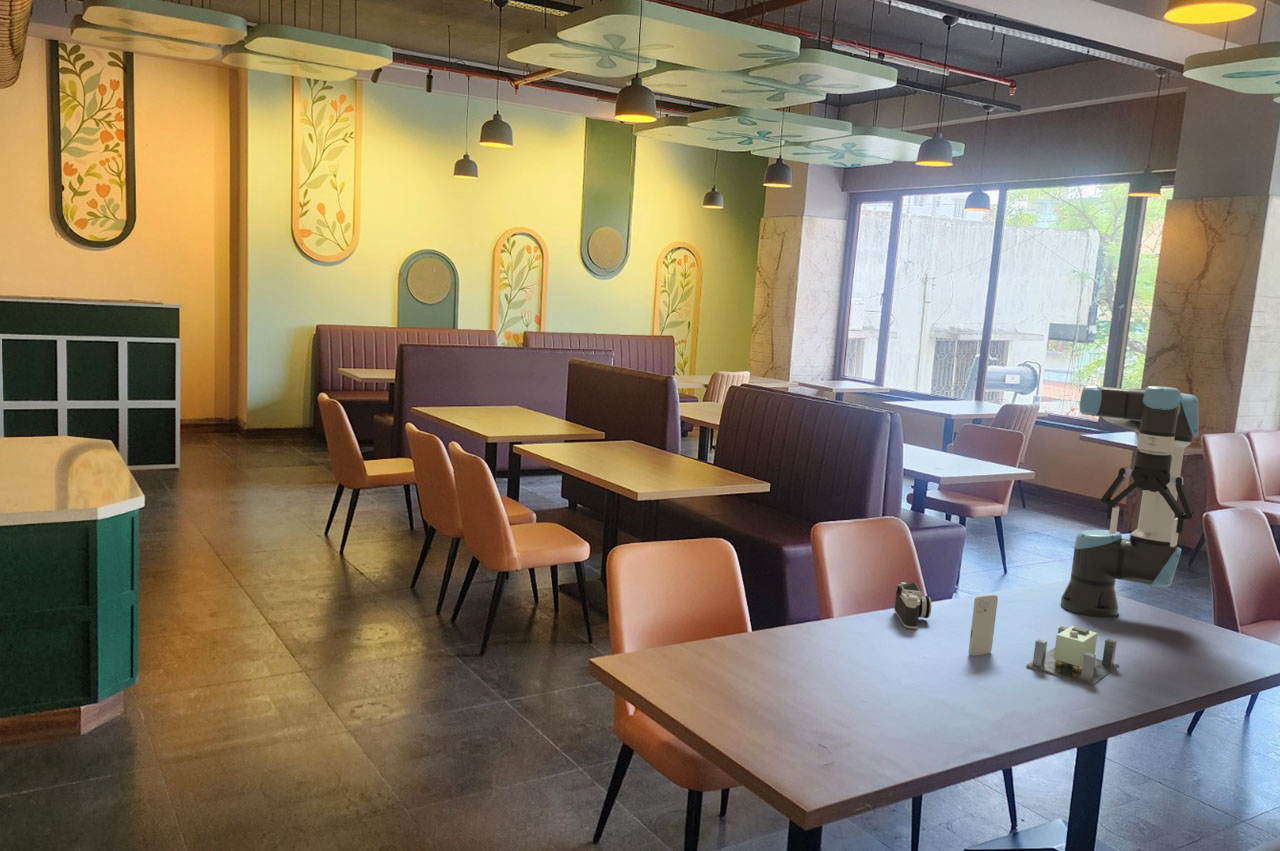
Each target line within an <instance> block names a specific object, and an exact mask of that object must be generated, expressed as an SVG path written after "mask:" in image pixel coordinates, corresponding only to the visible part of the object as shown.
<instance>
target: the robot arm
mask: <svg viewBox="0 0 1280 851" xmlns="http://www.w3.org/2000/svg"><path fill="white" fill-rule="evenodd" d="M1199 408H1200V406H1199V399H1198V397H1197V396H1196V395H1194V394H1190V393H1183V392H1181V391H1180V390H1179V388H1176V387H1171V386H1170V387H1169V386H1159V385H1158V386H1156V385H1151V386H1147V387H1146V388H1145V389H1142V388H1120V387H1119V388H1118V387H1111V386H1110V387H1109V386H1100V385H1085V386H1084V387H1083V388H1082V390H1081V394H1080V402H1079V411H1080V413H1081V414H1082V415H1084V416H1085V415H1086V416H1091V417H1100V418H1102V419H1104V421H1106V422H1108V423H1110V424H1113V425H1115V426H1118V427H1121V428H1125V429H1127V430H1128V429H1129V430H1132V431H1139V432H1138V438H1137V446H1136V448H1137V450H1138V451H1136V453H1135V460H1134V467H1133V469H1130V468H1128V467H1126V466H1124V467H1120V468H1119V470H1118V474H1117V477H1116V478H1115V479H1114V481H1112V484H1110V485H1109V487H1108V489H1107V490H1106V492H1105V493H1104V494H1103V496H1102V497H1101V498H1100V502H1101V503H1103V504H1106V505H1107V506H1108V507H1107V516H1106V518H1107V520H1110V525H1109V529H1086V530H1083V531H1079V533H1077V535H1076V537H1075V541H1074V542H1075V543H1074V546H1073V549H1074V550H1073V558H1072V565H1071V572H1070V579H1069V582H1068V583H1067V586H1066V588H1065V589H1064V592H1063V594H1062V595H1061V599H1060V606H1061V607H1062V608H1063V609H1065V610H1067V611H1069V612H1071V613H1074V614H1078V615H1083V616H1085V617H1092V618H1114V617H1116V616H1118V614H1119V603H1118V598H1117V594H1116V589H1115V585H1116V580H1121V581H1125V582H1131V583H1137V584H1142V585H1147V586H1150V587H1159V588H1168V587H1170V586H1171V585H1172V583H1173V580H1174V577H1175V573H1176V571H1177V567H1178V564H1179V560H1180V557H1181V554H1182V548H1181V547H1179V546H1177V545H1178V540H1179V534H1183V532H1184V531H1185V524H1186V520H1192V519H1193V518H1195V517H1196V513H1195V511H1194V508H1193V505H1192V503H1191V500H1190V498H1189V495H1188V492H1187V489H1186V486H1185V477H1184V476H1181V473H1182V465H1183V460H1184V453H1185V449H1186V448H1187V447H1188V446H1190V445H1191V444H1192V442H1193V438H1198V437H1199V431H1200V430H1199V429H1200V428H1199V427H1200V421H1199V420H1200V418H1199V416H1200V414H1199V413H1200V412H1199V411H1200V409H1199ZM1130 475H1131V477H1132V479H1133V481H1134V482H1132V483H1131V484H1130V485H1129V486H1127V487H1126V488H1125V489H1124V490H1122V491H1121V492H1120V493H1118V495H1116V496H1115V497H1114V498H1113V499H1111V498H1112V497H1113V496H1114V495H1115V493H1116V492H1117V490H1118V489H1119V487H1120V486H1121V485H1122V484H1123V482H1124V481H1125V479H1127V478H1128V477H1130ZM1138 488H1139V489H1140V490H1141V491H1142V494H1141V495H1142V496H1141V500H1140V501H1141V502H1140V508H1139V515H1138V522H1137V527H1136V529H1135V530H1133V531H1132V532H1131V533H1130V534H1129V539H1128V538H1122V537H1123V535H1122V533H1121V532H1119V531H1117V528H1118V522H1119V513H1120V506H1118V504H1119V503H1120V502H1122V501H1123V500H1124V499H1125V498H1127V497H1128V496H1129V495H1130V494H1132V493H1133V492H1135V491H1136V490H1138ZM1178 498H1179V501H1180V503H1181V506H1182V507H1181V506H1180V504H1179V503H1178V502H1177V500H1178Z"/></svg>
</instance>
